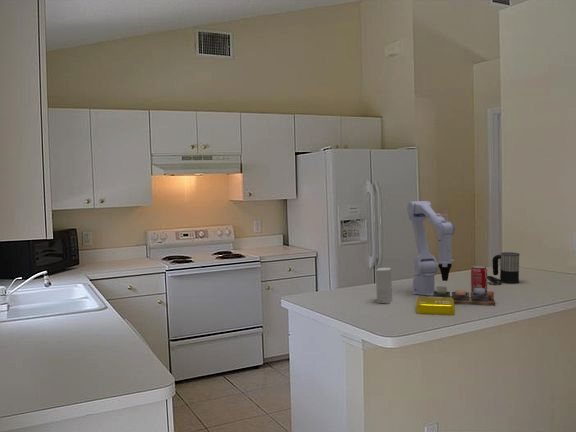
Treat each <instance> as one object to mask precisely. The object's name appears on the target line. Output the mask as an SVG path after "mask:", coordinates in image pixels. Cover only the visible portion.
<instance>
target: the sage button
mask: <svg viewBox="0 0 576 432" xmlns="http://www.w3.org/2000/svg"><path fill="white" fill-rule="evenodd" d="M435 289H436V290H435V291H436V294H447V290H448V287H447V286H443V285H440V286H436V288H435Z"/></svg>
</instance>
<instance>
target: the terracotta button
mask: <svg viewBox="0 0 576 432" xmlns="http://www.w3.org/2000/svg"><path fill="white" fill-rule="evenodd" d="M454 292H455V295H466V292H467V291H466V290H463V289H462V290H461V289H459V290H455V291H454Z"/></svg>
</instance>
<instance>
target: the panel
mask: <svg viewBox="0 0 576 432" xmlns="http://www.w3.org/2000/svg"><path fill="white" fill-rule="evenodd" d="M469 293H470V294H469ZM427 297H451V298H453V299H454V305H465V306H466V305H471V306H489V307H490V306H493V307H495V306H496V301H495V292H494V291H490V290H489V291H487V293H485V296H478V295H474V292H471V291H470V292H469V291H466V295H455V291H452V292H451V291H447V294H436V290H434V294H433V295H427Z"/></svg>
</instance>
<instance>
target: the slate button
mask: <svg viewBox="0 0 576 432" xmlns="http://www.w3.org/2000/svg"><path fill="white" fill-rule="evenodd" d="M474 295H478V296H485V289H484V288H474Z"/></svg>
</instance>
